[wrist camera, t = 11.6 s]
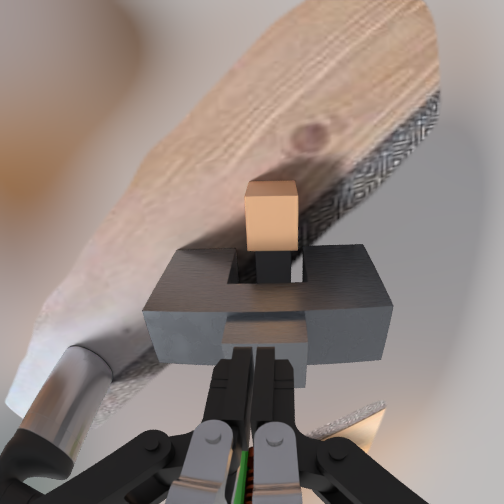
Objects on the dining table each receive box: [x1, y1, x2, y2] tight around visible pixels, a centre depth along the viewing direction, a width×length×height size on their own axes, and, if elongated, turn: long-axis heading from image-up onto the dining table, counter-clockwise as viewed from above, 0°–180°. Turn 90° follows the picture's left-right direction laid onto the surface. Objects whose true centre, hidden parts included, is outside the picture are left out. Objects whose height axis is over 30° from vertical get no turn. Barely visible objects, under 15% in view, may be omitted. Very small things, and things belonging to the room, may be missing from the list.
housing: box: [142, 244, 393, 388], centre depth 29 cm, size 6×20×14 cm, turn 94°
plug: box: [244, 181, 298, 284], centre depth 33 cm, size 17×4×5 cm, turn 3°
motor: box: [233, 446, 254, 504], centre depth 46 cm, size 10×9×20 cm
